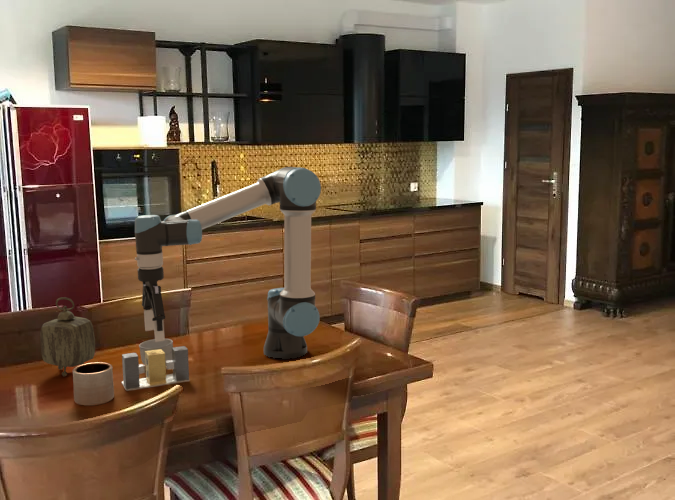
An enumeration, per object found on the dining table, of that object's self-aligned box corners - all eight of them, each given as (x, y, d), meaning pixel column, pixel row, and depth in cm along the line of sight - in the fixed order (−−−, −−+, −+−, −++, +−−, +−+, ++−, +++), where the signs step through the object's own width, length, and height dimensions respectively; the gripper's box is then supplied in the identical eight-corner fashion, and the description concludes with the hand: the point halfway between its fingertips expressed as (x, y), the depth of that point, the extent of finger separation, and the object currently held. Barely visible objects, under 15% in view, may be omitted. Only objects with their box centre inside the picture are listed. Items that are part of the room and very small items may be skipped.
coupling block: (162, 376, 221) (161, 349, 219) (166, 381, 216) (165, 353, 215) (145, 379, 218) (144, 351, 217) (149, 384, 214) (148, 355, 213)
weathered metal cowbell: (96, 372, 226) (92, 296, 223) (77, 381, 218) (72, 302, 214) (59, 367, 231) (54, 293, 227) (40, 376, 223) (34, 299, 219)
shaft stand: (182, 373, 225) (181, 343, 223) (189, 380, 218) (188, 349, 216) (121, 382, 217) (119, 351, 215) (126, 391, 209) (124, 358, 208)
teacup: (165, 372, 227) (164, 347, 225) (134, 369, 229) (132, 346, 228) (183, 358, 240) (182, 336, 239) (153, 357, 242) (152, 334, 241)
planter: (80, 393, 208) (78, 362, 206) (118, 392, 208) (116, 361, 207) (69, 407, 197) (67, 374, 195) (109, 406, 198) (107, 373, 196)
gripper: (129, 261, 221) (134, 327, 224) (146, 275, 199) (151, 347, 202) (153, 259, 224) (157, 324, 228) (173, 272, 202) (177, 343, 206)
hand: (154, 335), depth 215 cm, fingers open, 13 cm apart
